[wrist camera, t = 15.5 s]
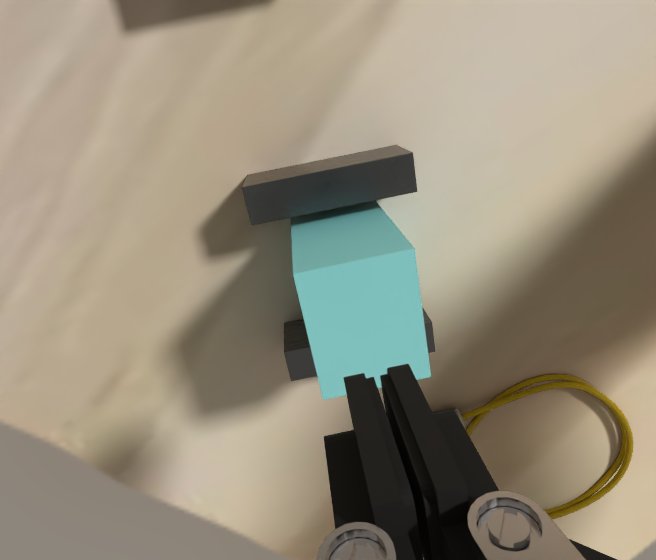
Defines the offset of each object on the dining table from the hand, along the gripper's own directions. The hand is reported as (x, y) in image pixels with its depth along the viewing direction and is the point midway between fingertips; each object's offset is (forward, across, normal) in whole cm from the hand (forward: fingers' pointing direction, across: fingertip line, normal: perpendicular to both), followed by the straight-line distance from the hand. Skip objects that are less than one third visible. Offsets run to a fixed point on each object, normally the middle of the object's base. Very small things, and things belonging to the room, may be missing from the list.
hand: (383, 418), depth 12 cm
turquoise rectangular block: (+13, 0, 0) cm, 13 cm away
